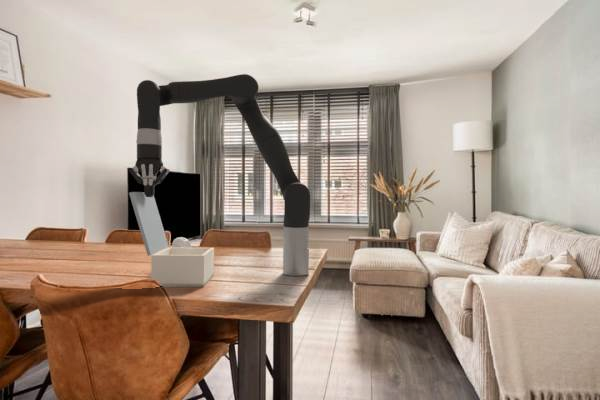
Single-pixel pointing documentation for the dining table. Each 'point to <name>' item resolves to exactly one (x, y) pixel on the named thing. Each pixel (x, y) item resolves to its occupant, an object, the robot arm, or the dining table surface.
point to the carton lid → (149, 222)
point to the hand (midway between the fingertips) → (149, 197)
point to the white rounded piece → (181, 243)
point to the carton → (183, 267)
